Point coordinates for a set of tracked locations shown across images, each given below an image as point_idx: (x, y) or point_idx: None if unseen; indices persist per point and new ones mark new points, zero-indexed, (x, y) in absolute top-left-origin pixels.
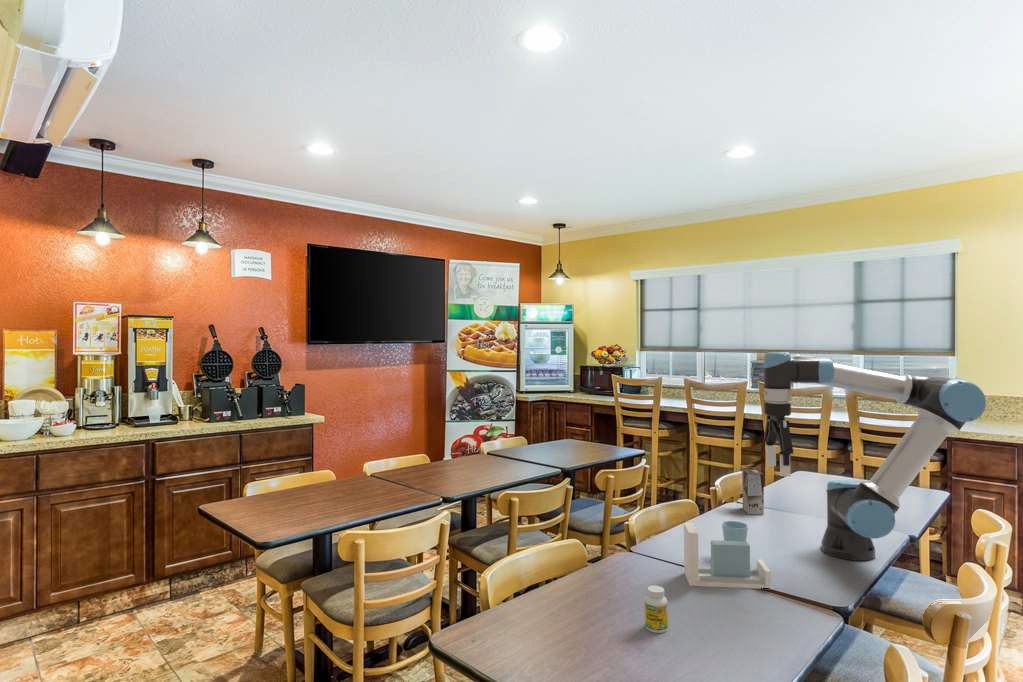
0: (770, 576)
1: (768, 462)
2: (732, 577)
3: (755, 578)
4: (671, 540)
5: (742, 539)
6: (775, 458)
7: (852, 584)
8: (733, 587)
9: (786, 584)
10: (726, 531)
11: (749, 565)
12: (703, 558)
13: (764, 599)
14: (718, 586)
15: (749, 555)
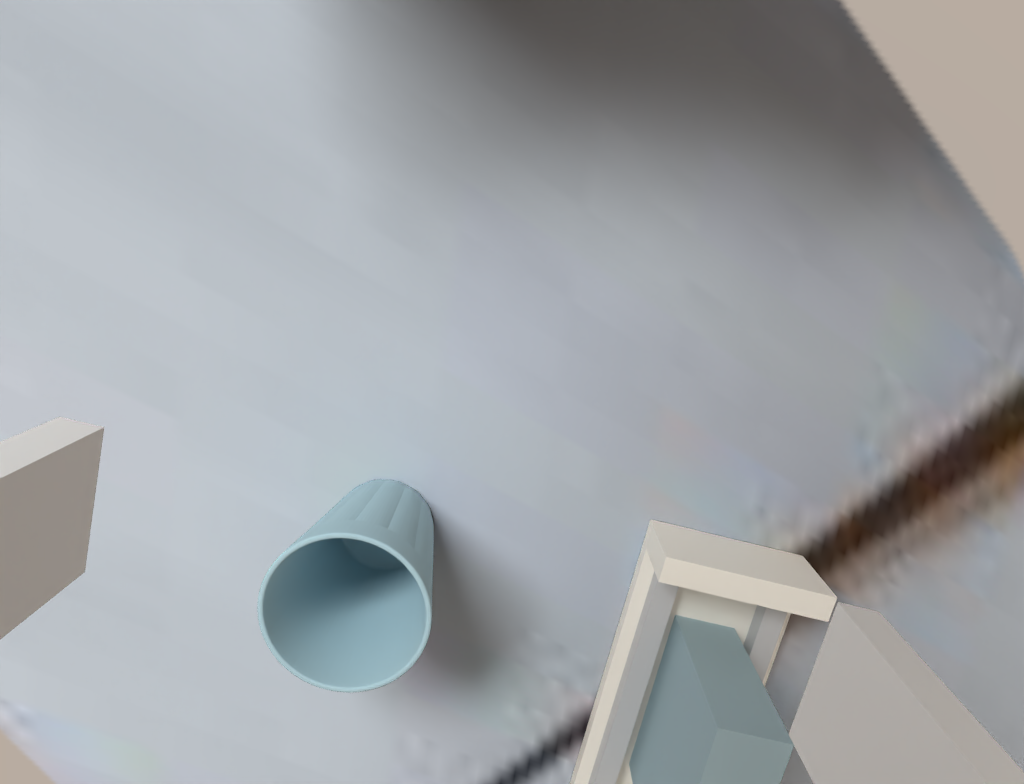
0: (825, 585)
1: (48, 579)
2: None
3: (767, 626)
4: (109, 737)
5: (429, 563)
6: (7, 483)
7: (843, 104)
8: None
9: (766, 453)
10: (381, 665)
11: (755, 673)
12: (385, 685)
13: None
14: None
15: (774, 708)
